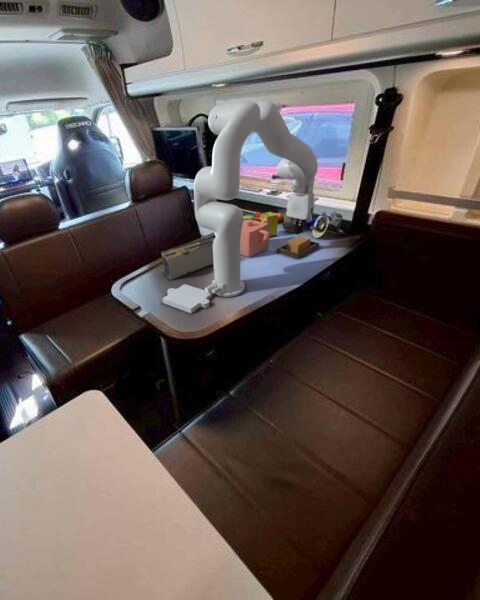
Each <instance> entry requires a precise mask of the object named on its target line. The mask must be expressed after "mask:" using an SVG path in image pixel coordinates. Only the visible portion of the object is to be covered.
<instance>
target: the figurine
mask: <svg viewBox="0 0 480 600" xmlns="http://www.w3.org/2000/svg"><path fill="white" fill-rule="evenodd" d="M318 217H319V216H318ZM318 217H316V218H312V221H311V222H305V223H304V224H303V225H308V226H309V227H308V228H309V230H311V231H313V229H315V228H314V224H315V222H316V220H317V218H318Z"/></svg>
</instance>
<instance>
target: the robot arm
mask: <svg viewBox="0 0 480 600" xmlns="http://www.w3.org/2000/svg"><path fill="white" fill-rule="evenodd" d="M207 117H208V118H207V124H208V128H209V130H210V131H211V132H212V133H213V134H214V135H216V136H217V138H216V139H215V142H214V144H213V148H212V156H211V166H205V167H202V168H201V169H200V170H198V171H197V173H196V175H195V178H194V182H193V201H194V216H195V220H196V222H197V224H198V225H199V226H200V227H201V228H204V229H206V230H210V231H214V232H217V235H216V236H215V237H214V239H213V262H214V264H213V279H212V281H211V284H210V285H208V286H206V287H205V288H204V290H205V291H206V292H211V293H212V294H214V295H216V296H217V297H218V296H219V297H225V298H232V297H236V296H238V295H240V294H242V293H243V292H244V291H245V287H246V286H245V283H244V282H243V281H242V280H241V255H240V239H241V230H242V226H243V220H244V213H243V211H242V209H241V208H240V207H239V206H237V205H234V204H232V203H227V202H221V201H231V200H235V199H236V197H238V195H239V192H240V184H241V158H242V150H243V147H244V145H245V142H246V141H247V140H248V138H249V137H250V135H251V134H252V133H256V134H257V136H258V138H259V139H260V141H261V143H262V144H263V145H264V148H265V149H266V150H267V151H268V152H269V153H270V154H272V155H274V156H276V157H278V158H282V159H281V160H280V161H279V163H278V164H277V167H276V173H277V175H278V176H279V178H282V179H285V180H293V183H292V184H291V185H290V189H292V191H291V192H290V194H289V197H288V200H287V205H286V210H287V212H286V214H287V216H288V218H290V219H292V221H293V224H294V231H293V234H294V235H297V236H298V235H300V234H302V232H303V228H304V225H305V224H304V223H306V222H311V221H312V219H313V217H314V213H315V192H314V186H315V177H316V175H317V173H318V170H319V169H318V168H319V165H318V163H319V162H318V157H317V155H316V154H315V152H314V151H313V148H311V146H309V145H308V144H307V143H306V142H304V141H303V140H302V139H300V138H298V137H297V135H296V136H295V135H294V134H292V133H291V132H290V130H289V128H288V126H287V124H286V122H285V120H284V118H283V116H282V113H281V111H280V110H279V108H278V107H277V105H276V103H274V102H273V101H271V100H257V101H250V100H242V101H234V102H226V103H219V104H216V105H215V106H213V107H212V108H211V110H210V111H209V114H208V116H207ZM217 200H221V201H217Z"/></svg>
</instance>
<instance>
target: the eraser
mask: <svg viewBox="0 0 480 600" xmlns="http://www.w3.org/2000/svg"><path fill="white" fill-rule="evenodd" d="M286 212H287V208H279V209H278V211H277V213H282V214H283V213H284V214H286Z"/></svg>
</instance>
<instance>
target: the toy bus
mask: <svg viewBox="0 0 480 600" xmlns="http://www.w3.org/2000/svg"><path fill="white" fill-rule="evenodd" d="M213 242H214V240H211V239H208V238H206V237H202V238H200V239H197V240H193V241H190V242H187V243H184V244H181V245H178V246H175V247H172V248H169V249H166V250H163V251H161V253H160V254H161V260H162V266H163V272H164V274H165V276H166V277H167V278H168V279H169V280H174V279H177V278H180V277H182V276H185V275H189V276H190V275H191V274H192V273H193V272H195V271H199V270H200V269H203V268H206V267H212V266H213V265H214V262H213Z"/></svg>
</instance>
